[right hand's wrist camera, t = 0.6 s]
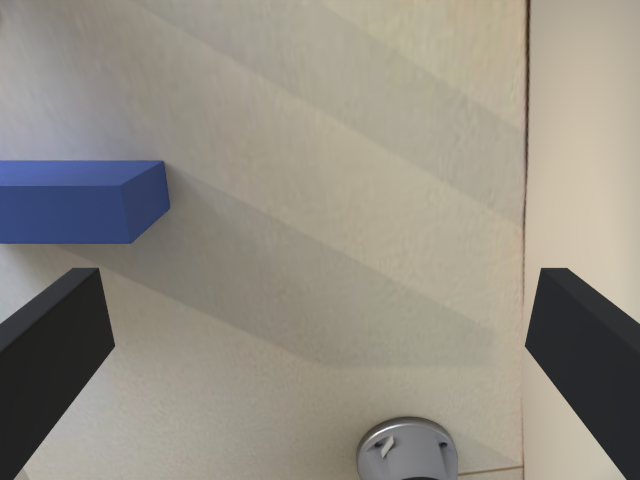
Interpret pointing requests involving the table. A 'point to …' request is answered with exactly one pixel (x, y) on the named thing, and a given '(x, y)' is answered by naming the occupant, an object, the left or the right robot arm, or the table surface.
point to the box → (80, 201)
